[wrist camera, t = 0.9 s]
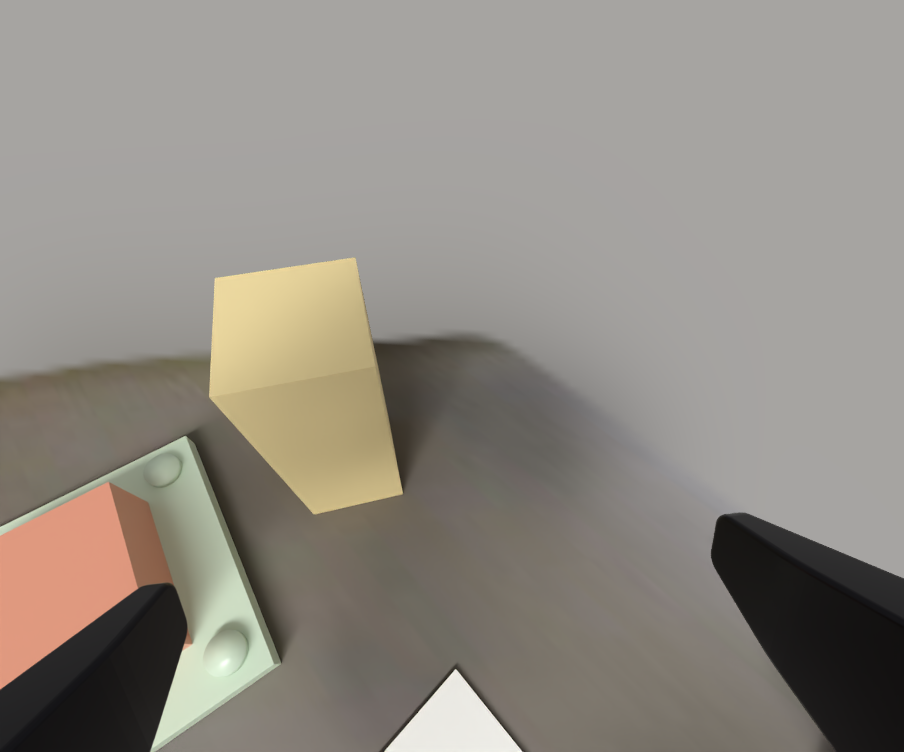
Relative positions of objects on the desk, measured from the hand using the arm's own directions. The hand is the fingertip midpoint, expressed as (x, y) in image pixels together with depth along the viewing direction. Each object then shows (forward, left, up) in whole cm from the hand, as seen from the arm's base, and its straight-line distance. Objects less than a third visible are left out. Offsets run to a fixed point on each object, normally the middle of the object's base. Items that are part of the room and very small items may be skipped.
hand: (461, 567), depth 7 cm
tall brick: (+3, +8, -15) cm, 17 cm away
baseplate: (-9, +12, -15) cm, 21 cm away
